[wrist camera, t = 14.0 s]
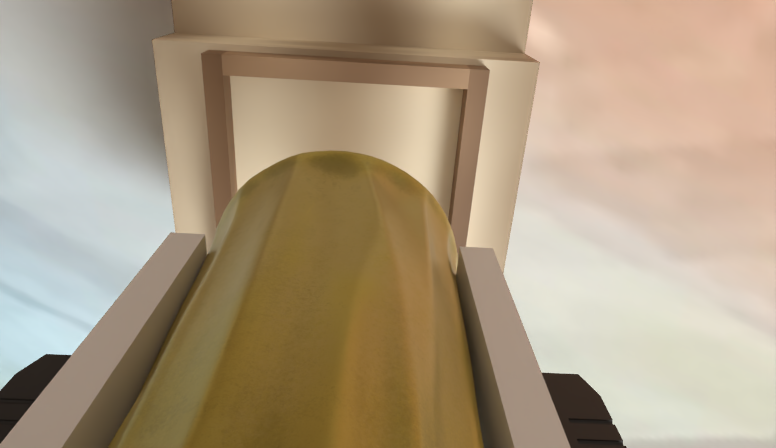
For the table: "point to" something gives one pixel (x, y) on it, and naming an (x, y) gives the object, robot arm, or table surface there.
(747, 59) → the table surface
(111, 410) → the robot arm
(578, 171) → the table surface
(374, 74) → the step stand
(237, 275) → the vase
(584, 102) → the table surface
